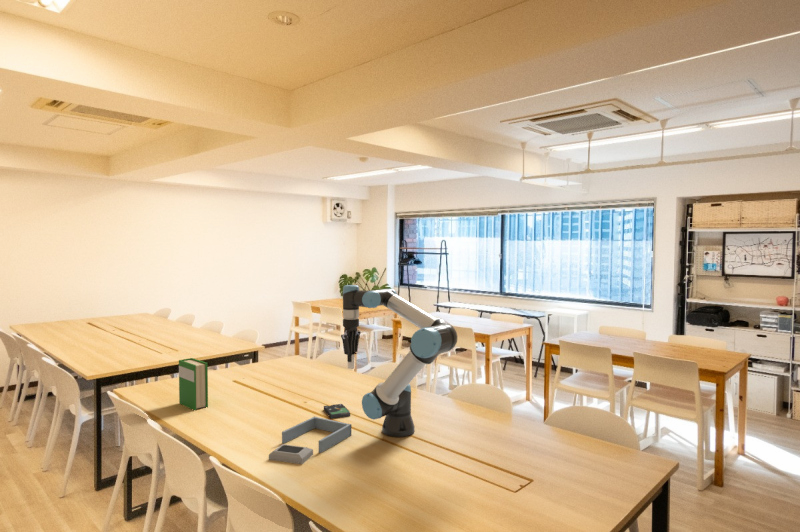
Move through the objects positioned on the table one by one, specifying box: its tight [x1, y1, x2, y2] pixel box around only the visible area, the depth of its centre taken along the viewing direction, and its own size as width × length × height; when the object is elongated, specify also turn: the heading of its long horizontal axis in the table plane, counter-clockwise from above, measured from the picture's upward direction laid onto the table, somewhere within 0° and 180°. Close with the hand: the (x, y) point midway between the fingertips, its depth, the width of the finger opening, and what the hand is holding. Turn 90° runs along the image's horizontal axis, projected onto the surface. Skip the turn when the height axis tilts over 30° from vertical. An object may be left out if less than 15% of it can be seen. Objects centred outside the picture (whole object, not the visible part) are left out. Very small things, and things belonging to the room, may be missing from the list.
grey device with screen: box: [268, 443, 314, 465], centre depth 202 cm, size 10×4×15 cm
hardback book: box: [178, 357, 209, 411], centre depth 267 cm, size 18×7×24 cm, turn 48°
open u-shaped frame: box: [281, 416, 352, 454], centre depth 221 cm, size 21×22×5 cm
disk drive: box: [323, 403, 351, 420], centre depth 256 cm, size 10×3×15 cm
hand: (350, 368), depth 231 cm, fingers closed
